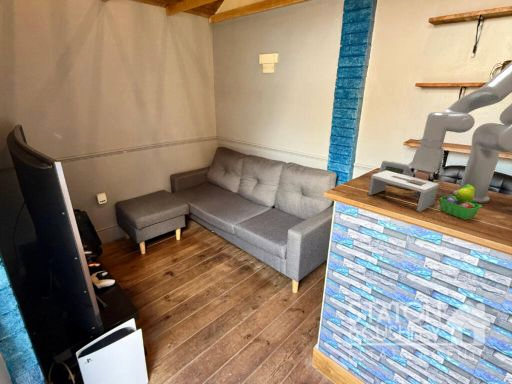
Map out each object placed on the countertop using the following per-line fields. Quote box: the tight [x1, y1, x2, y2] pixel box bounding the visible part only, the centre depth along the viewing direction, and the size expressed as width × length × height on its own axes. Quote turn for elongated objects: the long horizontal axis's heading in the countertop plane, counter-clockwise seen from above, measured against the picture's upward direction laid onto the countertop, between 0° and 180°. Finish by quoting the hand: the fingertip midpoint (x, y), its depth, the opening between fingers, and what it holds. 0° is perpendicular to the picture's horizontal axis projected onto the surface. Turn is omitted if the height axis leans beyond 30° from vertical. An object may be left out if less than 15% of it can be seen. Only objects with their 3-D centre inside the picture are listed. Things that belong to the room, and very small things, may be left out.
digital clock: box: [378, 160, 413, 190], centre depth 131 cm, size 16×9×11 cm, turn 32°
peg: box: [412, 170, 430, 199], centre depth 118 cm, size 5×5×11 cm
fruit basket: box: [439, 184, 483, 220], centre depth 101 cm, size 11×9×11 cm
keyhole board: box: [368, 170, 440, 213], centre depth 114 cm, size 12×22×9 cm, turn 36°
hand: (421, 184), depth 118 cm, fingers closed on peg, 5 cm apart
